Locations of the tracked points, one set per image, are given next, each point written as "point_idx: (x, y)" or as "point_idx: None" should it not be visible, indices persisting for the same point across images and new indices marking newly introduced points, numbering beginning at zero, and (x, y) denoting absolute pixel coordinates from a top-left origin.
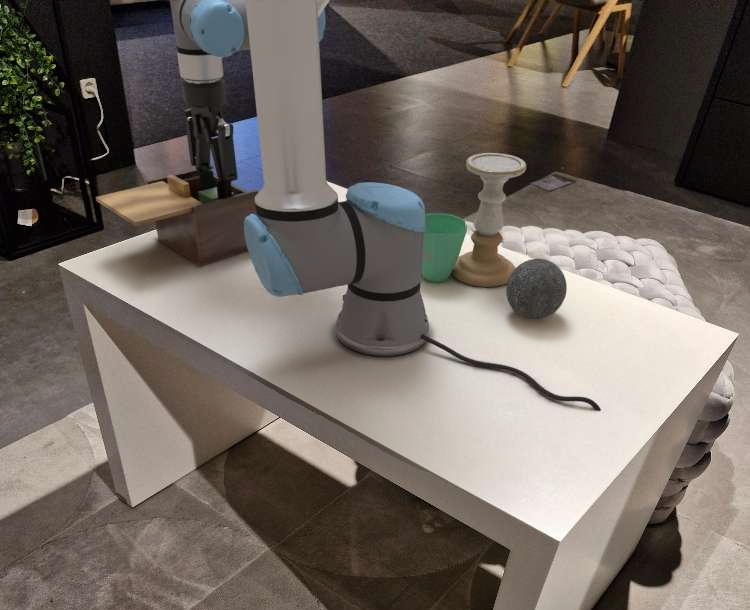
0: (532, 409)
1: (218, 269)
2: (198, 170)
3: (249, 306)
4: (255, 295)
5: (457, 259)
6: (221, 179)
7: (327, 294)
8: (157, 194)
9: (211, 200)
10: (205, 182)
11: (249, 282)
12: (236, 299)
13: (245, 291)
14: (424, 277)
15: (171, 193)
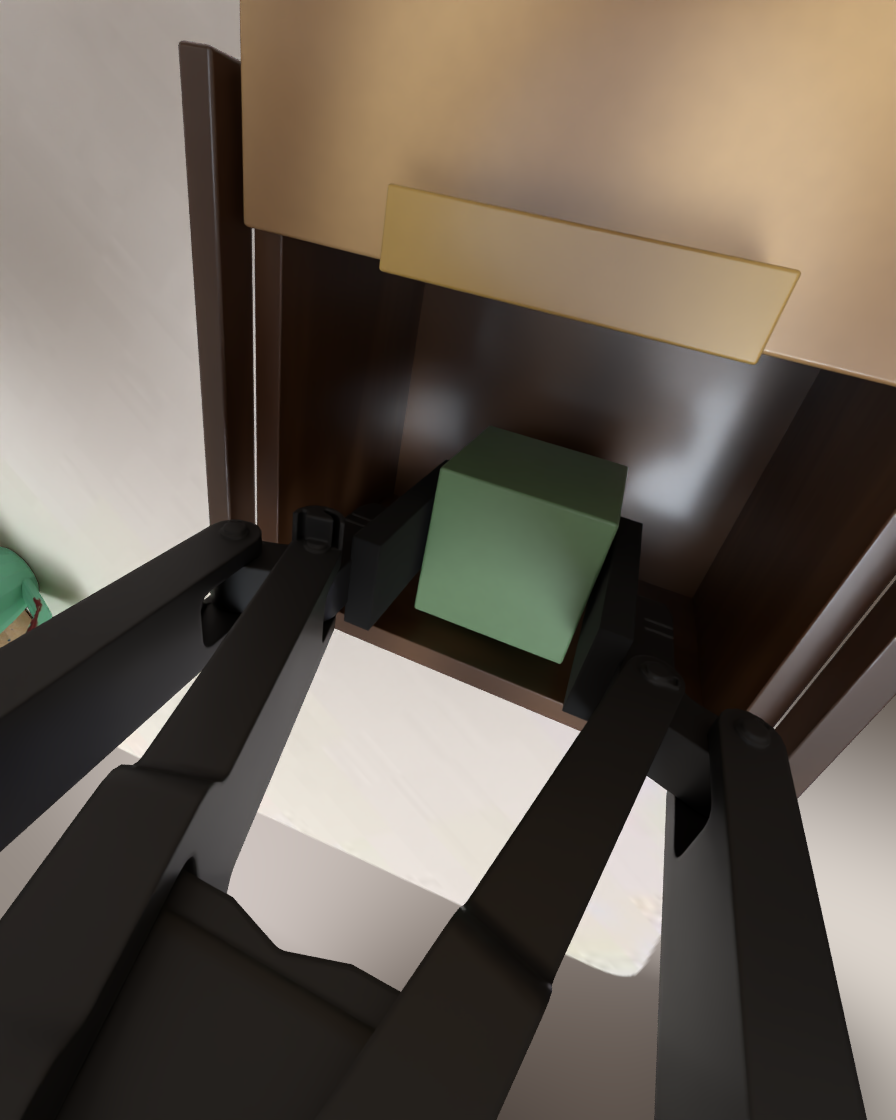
0: None
1: None
2: (640, 660)
3: (26, 25)
4: (90, 130)
5: (15, 638)
6: (291, 542)
7: (18, 330)
8: (795, 9)
9: (453, 465)
10: (595, 613)
11: (184, 207)
12: (91, 26)
13: (131, 125)
14: (9, 552)
15: (649, 189)
